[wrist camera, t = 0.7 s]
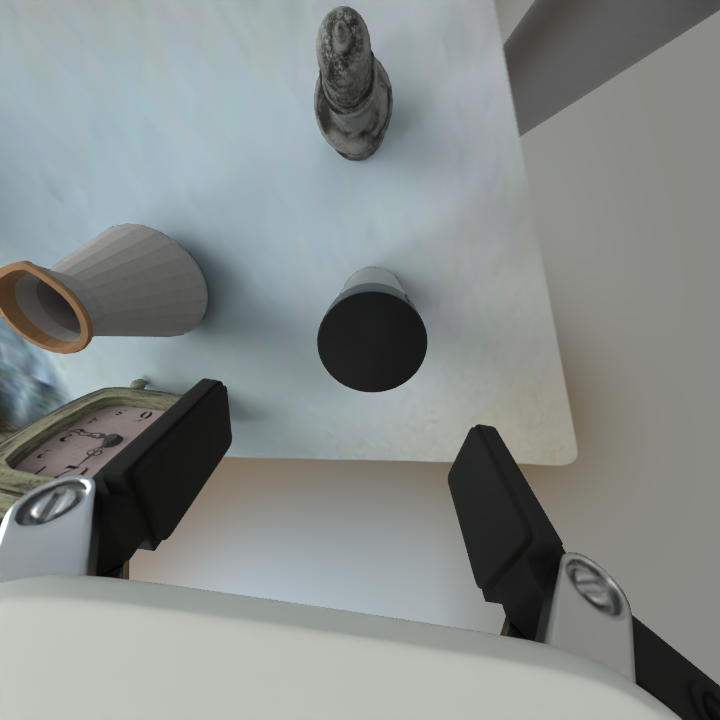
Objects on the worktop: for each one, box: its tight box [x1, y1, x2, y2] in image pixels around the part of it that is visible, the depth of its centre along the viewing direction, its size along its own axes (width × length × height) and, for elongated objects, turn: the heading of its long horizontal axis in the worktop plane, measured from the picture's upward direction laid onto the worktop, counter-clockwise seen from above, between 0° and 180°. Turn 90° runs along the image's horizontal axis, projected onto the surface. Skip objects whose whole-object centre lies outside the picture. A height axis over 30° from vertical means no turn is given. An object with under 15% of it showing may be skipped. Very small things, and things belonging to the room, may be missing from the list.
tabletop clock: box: [0, 379, 183, 519], centre depth 26 cm, size 14×9×25 cm, turn 80°
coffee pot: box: [0, 224, 208, 354], centre depth 22 cm, size 21×12×15 cm, turn 76°
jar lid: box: [317, 283, 427, 392], centre depth 19 cm, size 8×8×3 cm
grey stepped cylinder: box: [314, 6, 393, 160], centre depth 17 cm, size 6×6×12 cm
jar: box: [339, 267, 406, 295], centre depth 24 cm, size 7×7×12 cm
